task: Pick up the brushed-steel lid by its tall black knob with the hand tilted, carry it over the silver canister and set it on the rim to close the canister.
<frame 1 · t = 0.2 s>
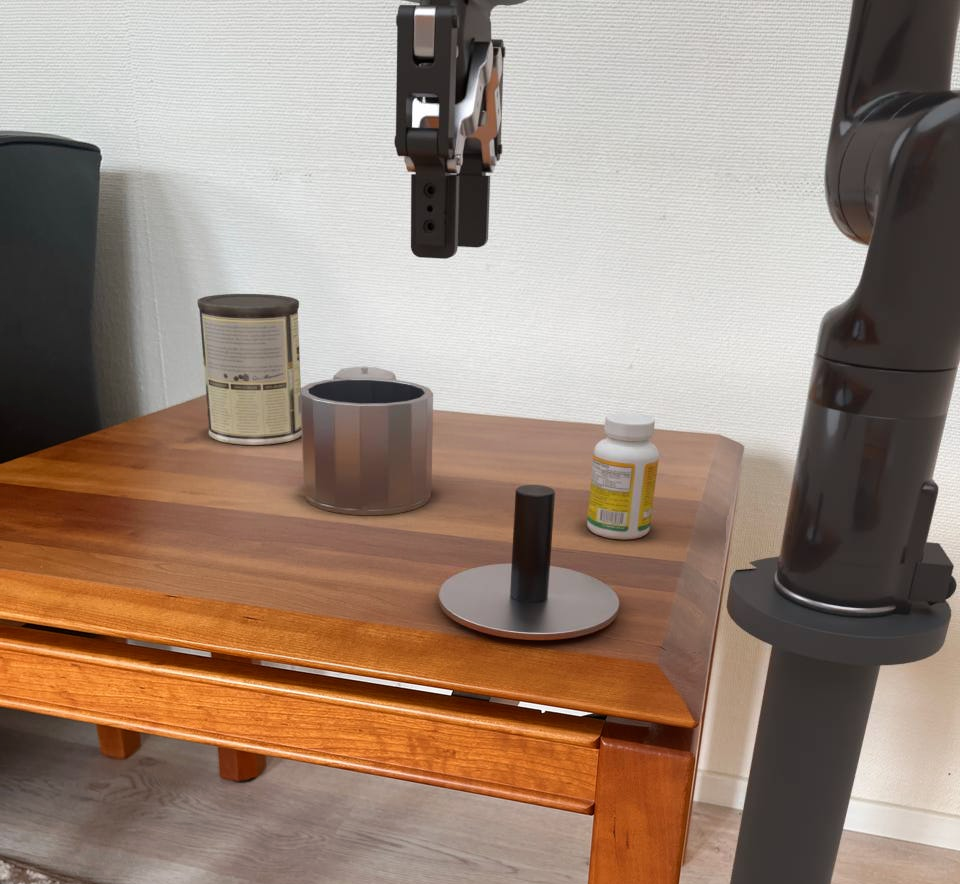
hand: (452, 251, 54), 24 cm above the table, tool pointing down, fingers open, 8 cm apart
coffee can: (256, 435, 112), on the table
supplement bottle: (618, 532, 87), on the table
tin lid: (528, 602, 70), point 1 cm above the table
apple: (365, 426, 117), on the table
canister: (367, 495, 93), on the table
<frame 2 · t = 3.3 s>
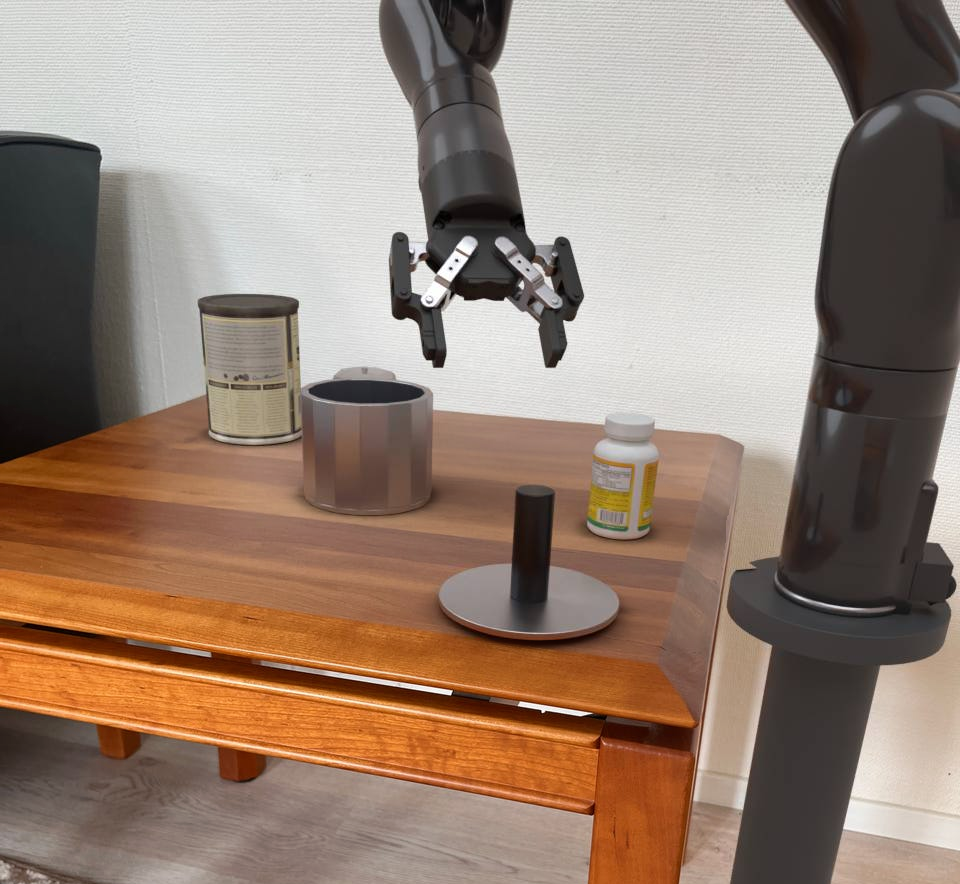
hand: (498, 361, 74), 15 cm above the table, tool tilted 45°, fingers open, 8 cm apart
nothing on the table moved.
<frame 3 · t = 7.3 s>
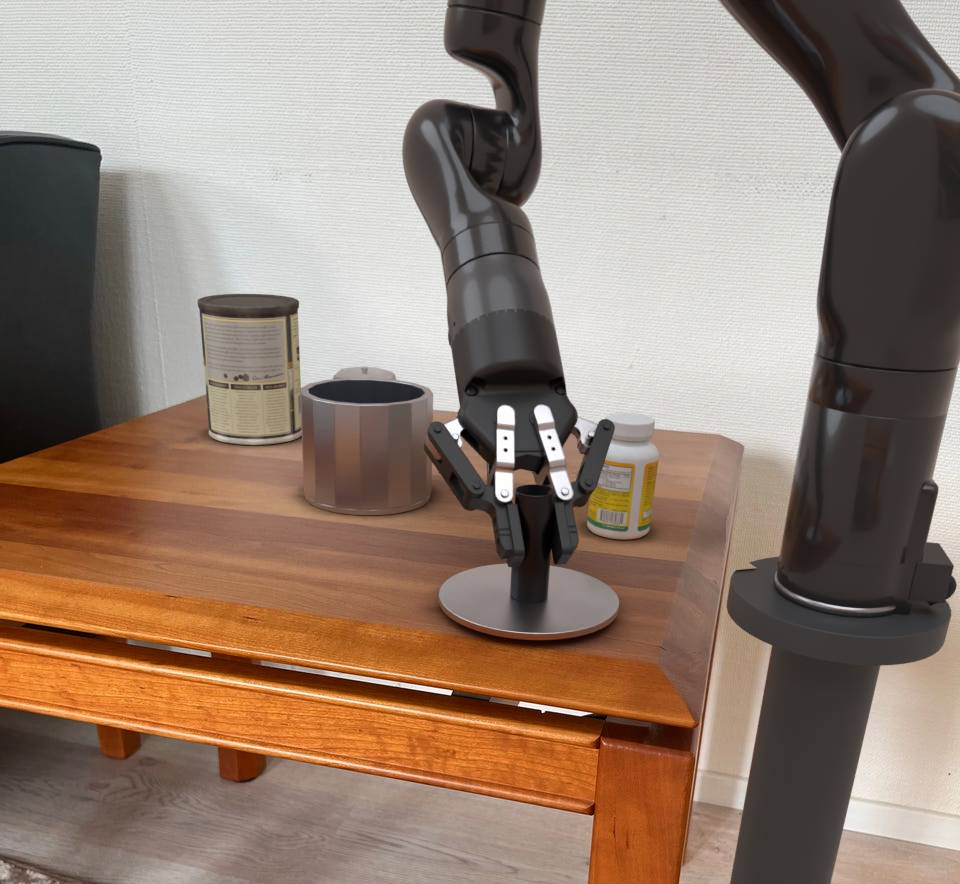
hand: (540, 560, 67), 4 cm above the table, tool tilted 45°, fingers closed on tin lid, 2 cm apart
tin lid: (528, 602, 70), point 1 cm above the table, touching gripper
everything else where it was.
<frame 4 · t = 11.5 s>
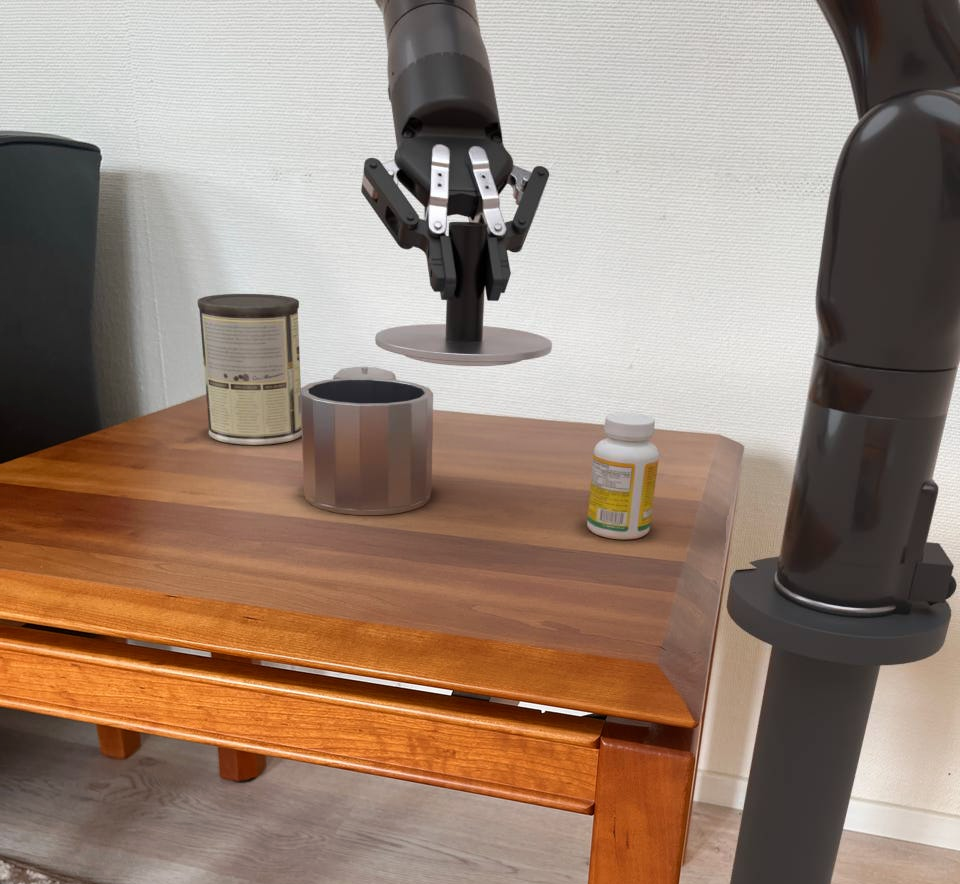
hand: (472, 291, 68), 20 cm above the table, tool tilted 45°, fingers closed on tin lid, 2 cm apart
tin lid: (463, 345, 72), point 16 cm above the table, touching gripper
everything else where it was.
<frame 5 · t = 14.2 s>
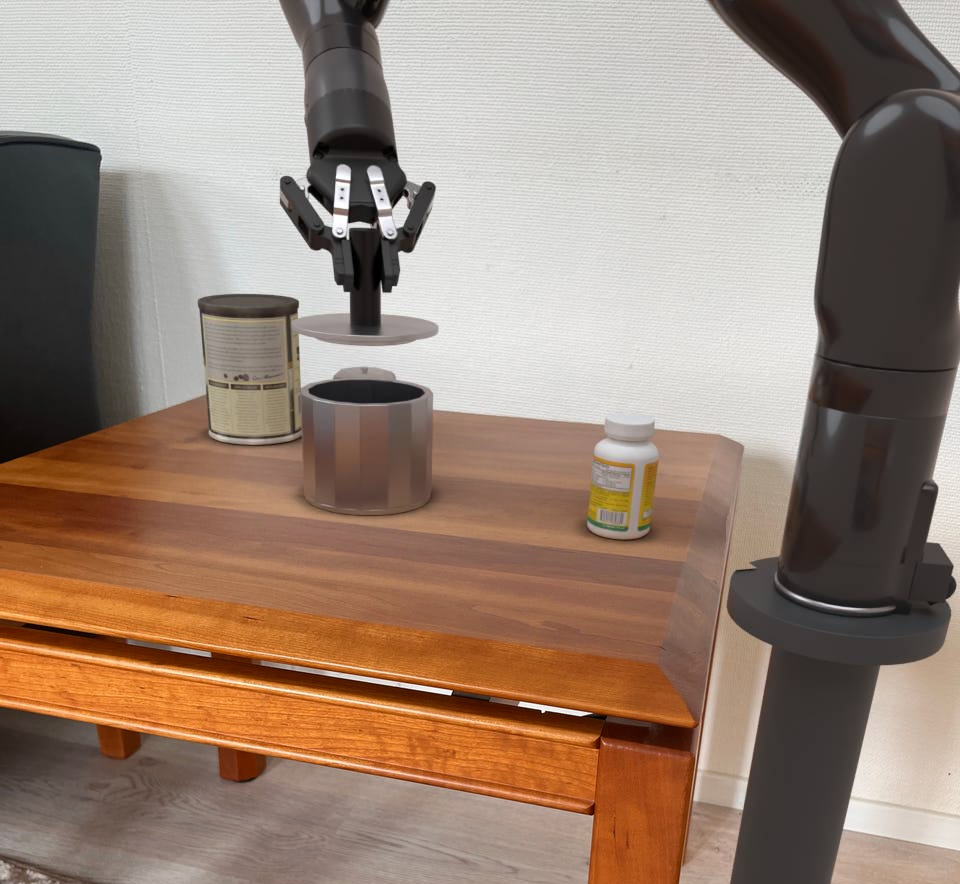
hand: (368, 285, 83), 18 cm above the table, tool tilted 45°, fingers closed on tin lid, 2 cm apart
tin lid: (365, 329, 87), point 15 cm above the table, touching gripper
everything else where it was.
when the fingers open (13 cm above the table, at t = 15.9 s): tin lid stays where it is, resting on canister.
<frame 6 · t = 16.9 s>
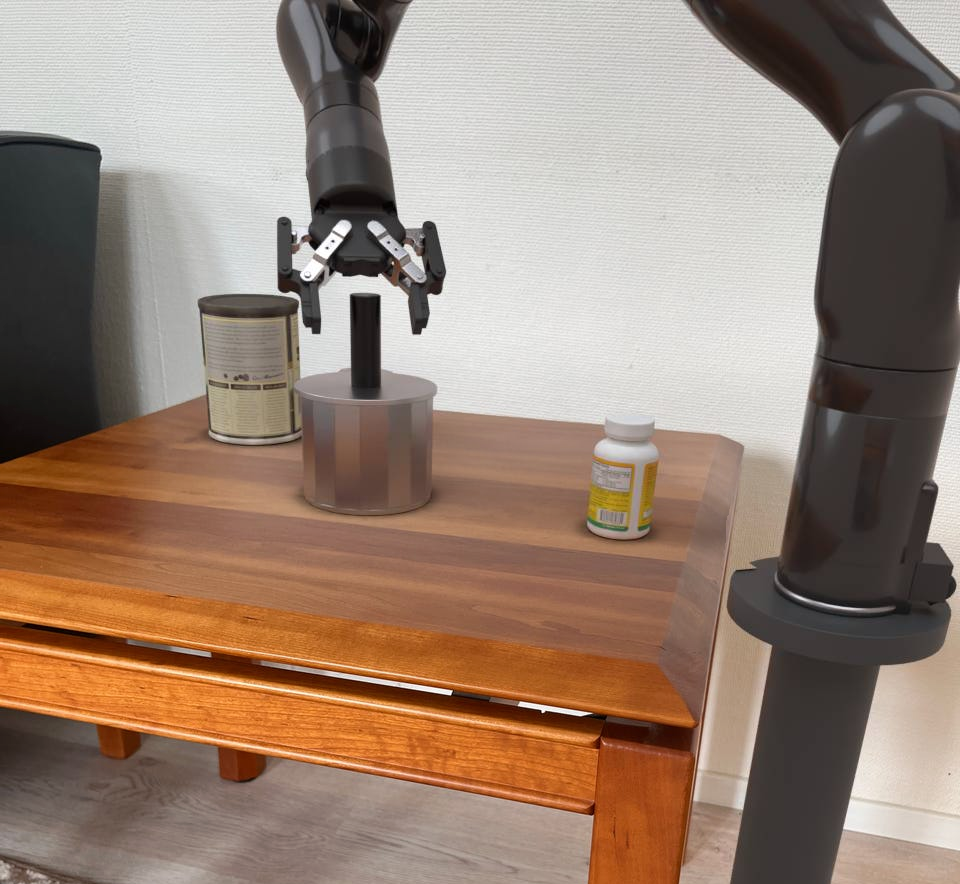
hand: (368, 328, 85), 15 cm above the table, tool tilted 45°, fingers open, 8 cm apart
tin lid: (366, 390, 89), point 9 cm above the table, touching canister
everything else where it was.
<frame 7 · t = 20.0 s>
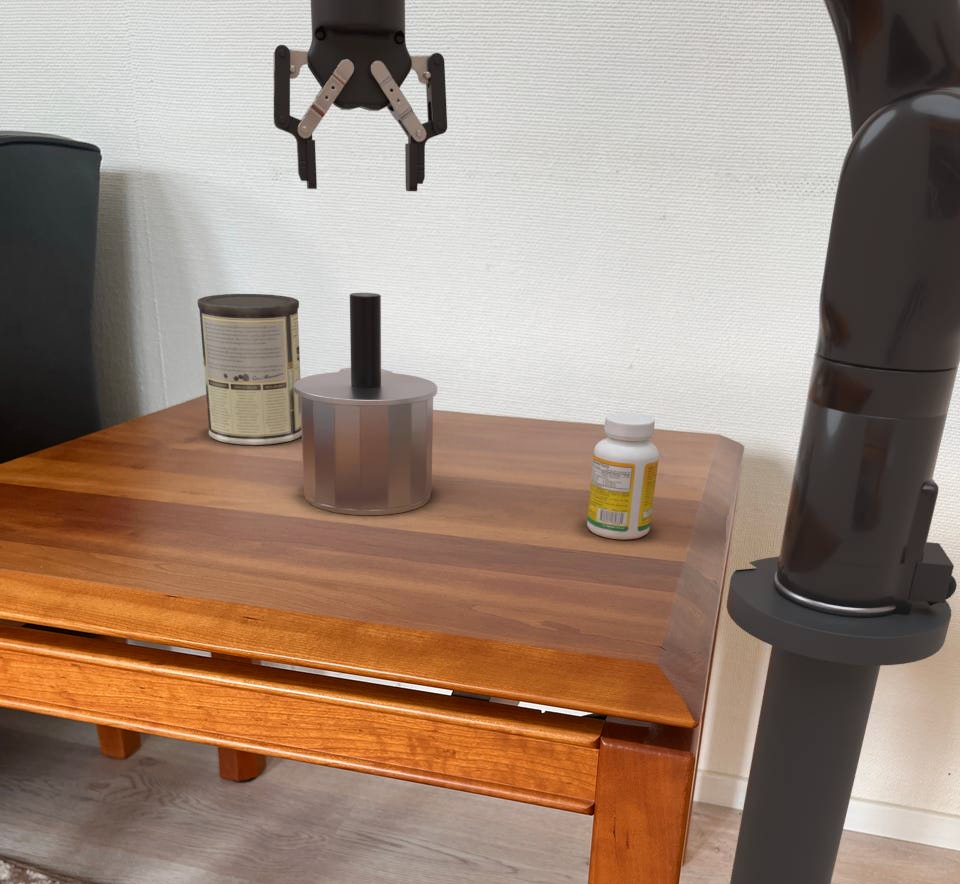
hand: (362, 190, 87), 25 cm above the table, tool pointing down, fingers open, 8 cm apart
nothing on the table moved.
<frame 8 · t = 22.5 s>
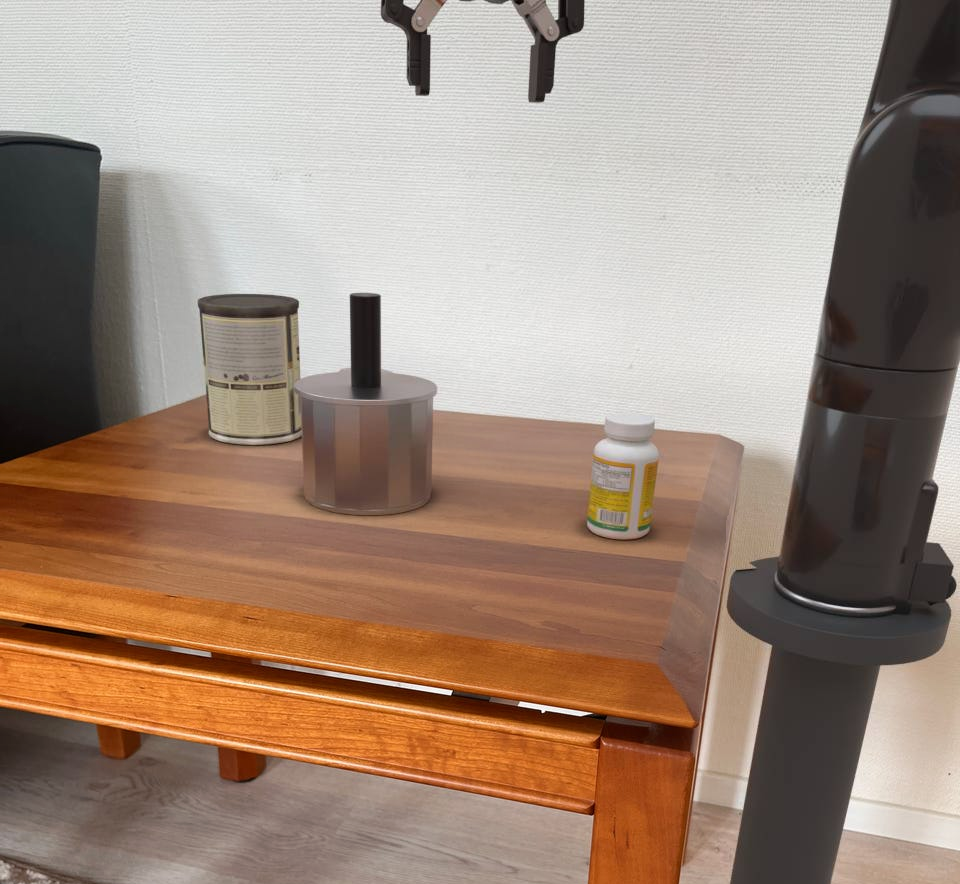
hand: (480, 98, 74), 32 cm above the table, tool pointing down, fingers open, 8 cm apart
nothing on the table moved.
at the end: tin lid 0.1 cm off-centre on the canister, point 9.5 cm above the canister's base; tin lid tilted 0°; the gripper is holding nothing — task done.
